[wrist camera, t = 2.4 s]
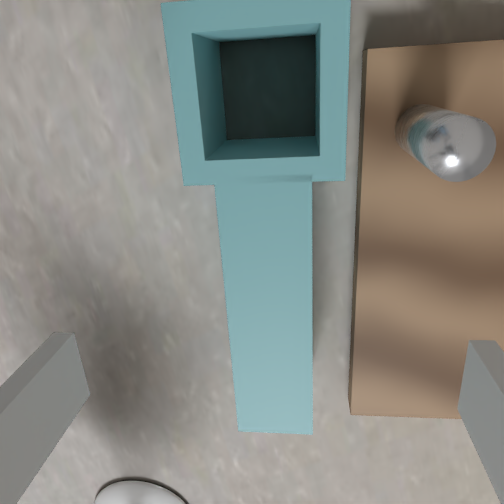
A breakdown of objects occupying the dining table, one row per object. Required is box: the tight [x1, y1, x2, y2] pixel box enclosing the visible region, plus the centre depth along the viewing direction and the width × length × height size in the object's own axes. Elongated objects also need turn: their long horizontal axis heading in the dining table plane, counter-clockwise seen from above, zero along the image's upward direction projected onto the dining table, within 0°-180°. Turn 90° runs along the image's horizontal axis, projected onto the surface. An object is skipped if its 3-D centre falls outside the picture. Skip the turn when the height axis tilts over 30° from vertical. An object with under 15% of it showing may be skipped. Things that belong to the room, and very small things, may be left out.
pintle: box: [395, 104, 496, 182], centre depth 17 cm, size 2×2×7 cm
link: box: [161, 0, 351, 434], centre depth 21 cm, size 20×7×6 cm, turn 3°
